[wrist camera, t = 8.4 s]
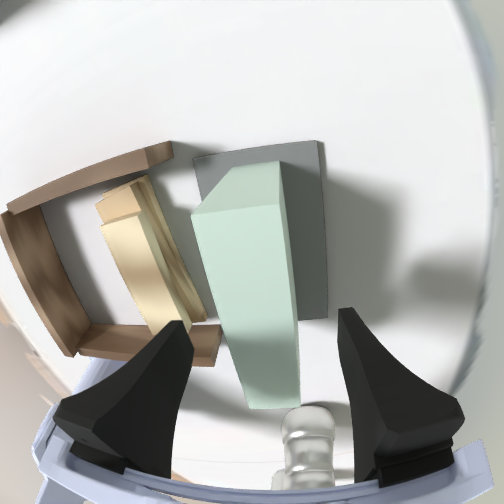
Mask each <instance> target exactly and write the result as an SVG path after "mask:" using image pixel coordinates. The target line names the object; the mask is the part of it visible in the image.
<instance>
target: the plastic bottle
mask: <svg viewBox="0 0 504 504" xmlns="http://www.w3.org/2000/svg"><path fill="white" fill-rule="evenodd" d="M281 432H282V440H283V444H284V451H285V466H286V469H285V475H286V476H285V479H284V488H283V490H301V489H315V488H326V487H335V480H334V474H333V441H334V437H335V422H334V418H333V415H332V414H331V413H330V412H329V411H328V410H327V409H326V408H324V407H320V406H302V407H298V408H295V409H292V410H291V411H289V412H288V413H287V414H286V416H285V417H284V419H283V422H282V427H281Z"/></svg>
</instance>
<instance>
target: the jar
mask: <svg viewBox="0 0 504 504" xmlns="http://www.w3.org/2000/svg"><path fill="white" fill-rule="evenodd" d="M285 476H286V475H285V469H282V470H279V471H277V472H276V473H275V474H274V475H273V477H272V486H271V490H283V488H284V479H285Z"/></svg>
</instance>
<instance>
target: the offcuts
mask: <svg viewBox="0 0 504 504" xmlns="http://www.w3.org/2000/svg"><path fill="white" fill-rule="evenodd" d="M102 195H103V198H104V200H102V201H100V202H99V203H97V204H95V207H96V209H97V211H98V213H99V215H100V217H101V219H102V221H103V223H104V224H103V225H101V226H100V228H101V231H102V233H103V235H104V238H105V240H106V243H107V245H108V247H109V250H110V252H111V254H112V256H113V258H114V261H115V263H116V265H117V267H118V269H119V271H120V274H121V276H122V278H123V280H124V282H125V284H126V286H127V288H128V290H129V292H130V294H131V296H132V298H133V300H134V302H135V303H136V305H137V307H138V309H139V311H140V313H141V315H142V316H143V318H144V320H145V322H146V324H147V325H148V327H149V329H150V331H151V332H152V334H153V335H157V334H158V333H159V332H160V330H161V329H162V328H163V327H164V326H165V325H167V324H168V323H169V322H170V321H171V320H183V323H184V325H185V328H186V330H187V333H189V331H190V328H191V326H192V323H197V322H204V321H206V319H207V316H208V314H207V312H206V310H205V308H204V306H203V304H202V302H201V300H200V298H199V296H198V293H197V291H196V289H195V287H194V285H193V283H192V281H191V278H190V276H189V274H188V272H187V270H186V267H185V265H184V263H183V261H182V258H181V256H180V254H179V251H178V249H177V247H176V244H175V242H174V240H173V237H172V235H171V233H170V230H169V228H168V225H167V223H166V220H165V218H164V216H163V213H162V211H161V208H160V206H159V203H158V200H157V198H156V195H155V193H154V190H153V187H152V185H151V182H150V180H149V177H148V174H146V175H144V176H141V177H139V178H136V179H134V180H132V181H129V182H127V183H125V184H122V185H120V186H118V187H116V188H113V189H111V190H109V191H107V192H105V193H103V194H102Z"/></svg>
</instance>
